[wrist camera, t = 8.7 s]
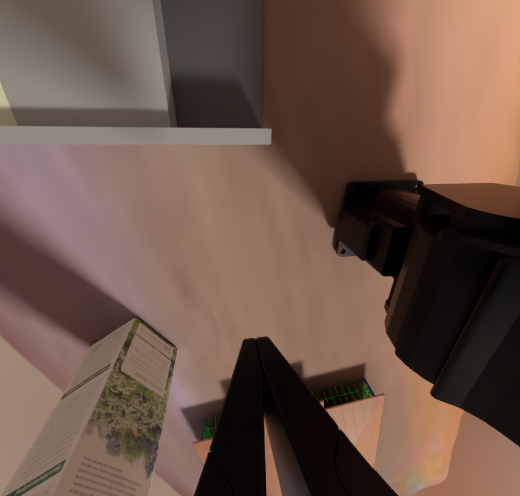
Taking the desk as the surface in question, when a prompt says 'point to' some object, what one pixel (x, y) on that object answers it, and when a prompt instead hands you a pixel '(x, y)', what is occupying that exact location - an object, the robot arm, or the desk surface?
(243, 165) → the desk surface
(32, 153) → the desk surface
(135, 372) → the syrup box
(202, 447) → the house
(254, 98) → the tray
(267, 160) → the desk surface
